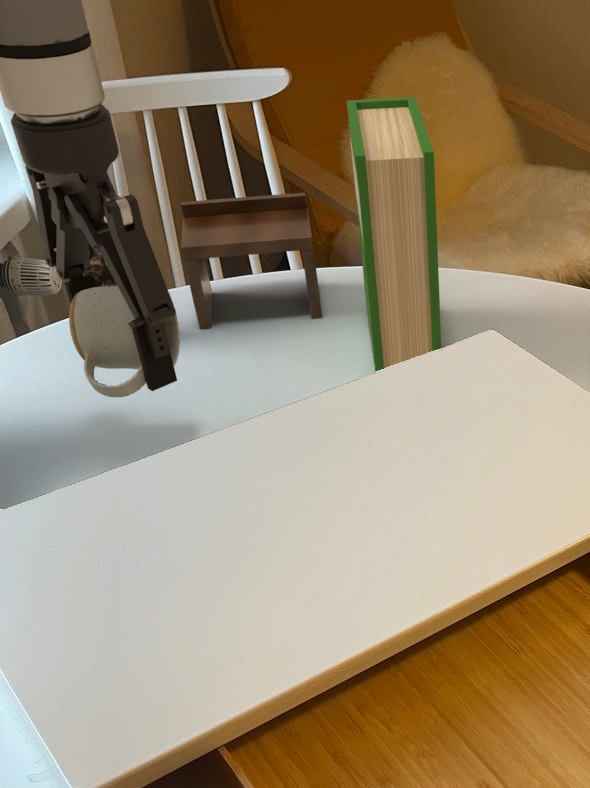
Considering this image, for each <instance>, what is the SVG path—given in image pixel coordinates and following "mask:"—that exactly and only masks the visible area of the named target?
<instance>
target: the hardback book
mask: <svg viewBox="0 0 590 788" xmlns="http://www.w3.org/2000/svg"><path fill="white" fill-rule="evenodd" d="M346 108H347V120H348V130H349V138H350V139H349V141H350V148H351V149H350V150H351V151H350V152H351V159H352V171H353V181H354V190H355V191H354V193H355V201H356V211H357V212H356V213H357V222H358V233H359V244H360V254H361V264H362V273H363V283H364V285H363V286H364V294H365V304H366V314H367V315H368V316H367V322H368V330H369V336H370V337H371V338H370V345H371V350H372V358H373V359H374V360H373V367H374V366H375V367H374V372H375V371H378V370H381V369H384V368H386V367H389V366H391V365H394V364H397V363H400V362H403V361H406V360H409V359H411V358H414V357H416V356H420V355H423V354H426V353H428V352H431V351H434V350H437V349H440V348H441V349H442V327H441V305H440V304H441V301H440V278H439V277H440V276H439V250H438V249H439V248H438V226H437V225H438V224H437V222H438V221H437V203H436V202H437V200H436V199H437V197H436V178H435V177H436V175H435V172H436V171H435V151H434V147H433V145H432V142H431V139H430V135H429V134H428V131H427V126H426V124H425V121H424V119H423V115H422V113H421V109H420V106H419V103H418V101H417V97H416V96H413V97H412V96H411V97H408V96H407V97H391V98H370V99H352V100H346Z"/></svg>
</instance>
